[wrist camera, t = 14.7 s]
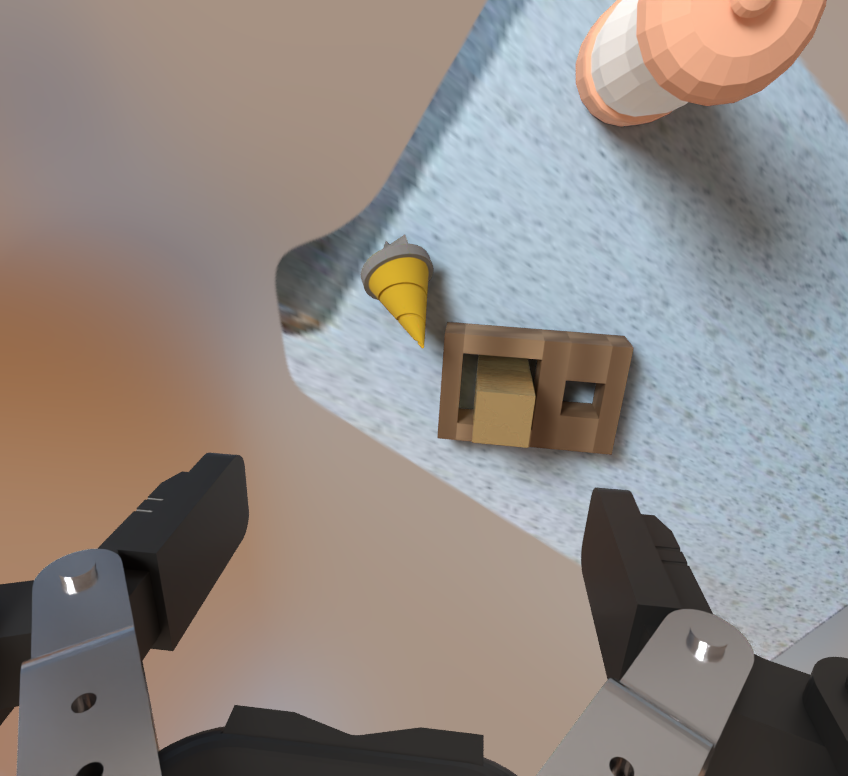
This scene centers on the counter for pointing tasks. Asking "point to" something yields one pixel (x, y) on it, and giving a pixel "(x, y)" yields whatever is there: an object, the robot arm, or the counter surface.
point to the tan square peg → (503, 401)
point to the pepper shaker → (688, 53)
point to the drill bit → (401, 283)
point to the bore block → (544, 382)
